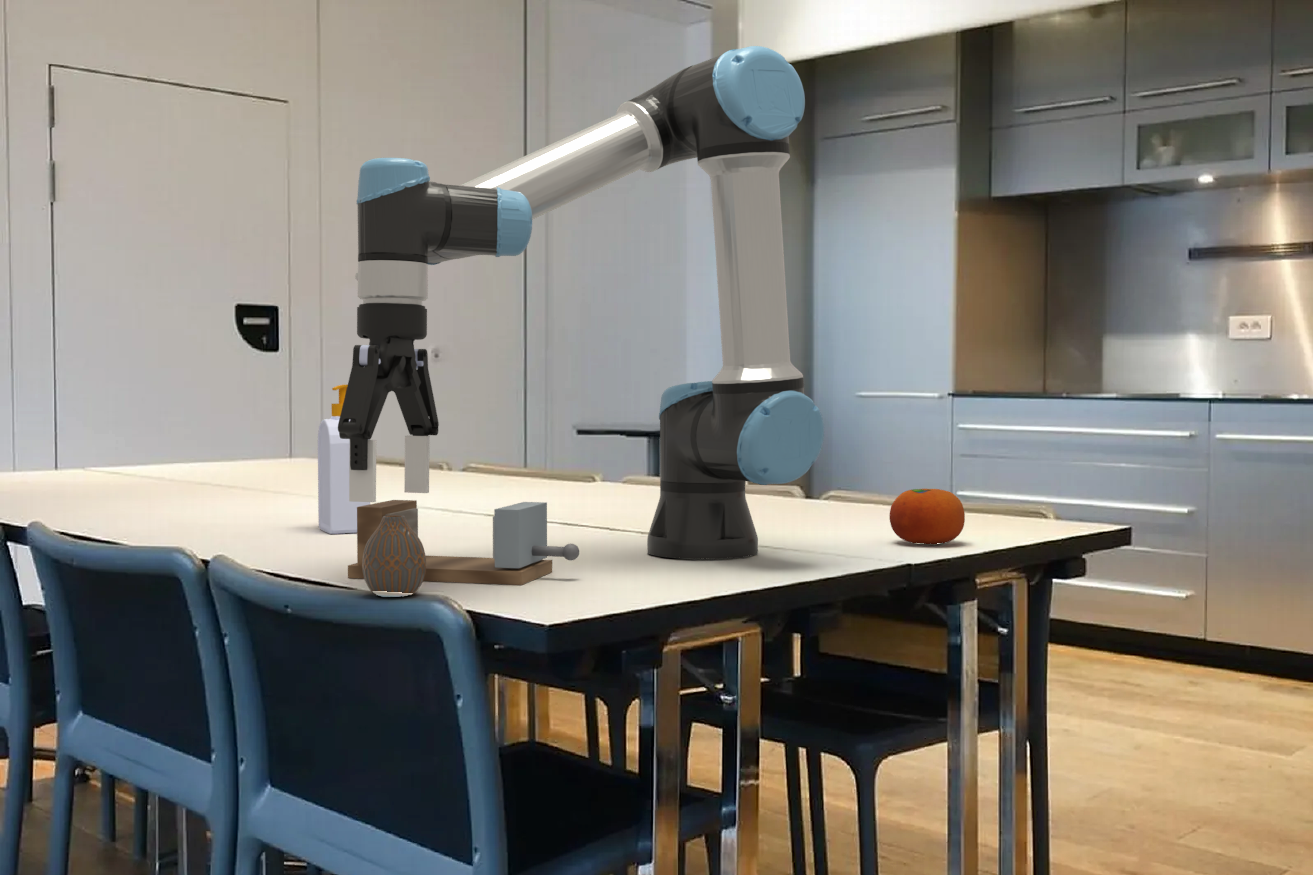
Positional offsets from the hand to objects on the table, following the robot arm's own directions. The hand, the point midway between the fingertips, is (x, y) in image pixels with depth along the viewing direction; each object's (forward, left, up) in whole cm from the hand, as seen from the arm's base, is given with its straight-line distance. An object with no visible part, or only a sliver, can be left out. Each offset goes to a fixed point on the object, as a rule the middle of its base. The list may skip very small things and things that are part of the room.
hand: (390, 497), depth 150 cm
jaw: (-12, -16, -9) cm, 22 cm away
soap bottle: (+35, -57, -11) cm, 68 cm away
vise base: (0, -16, -11) cm, 20 cm away
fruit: (-54, -63, -11) cm, 84 cm away
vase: (0, 0, -11) cm, 11 cm away
